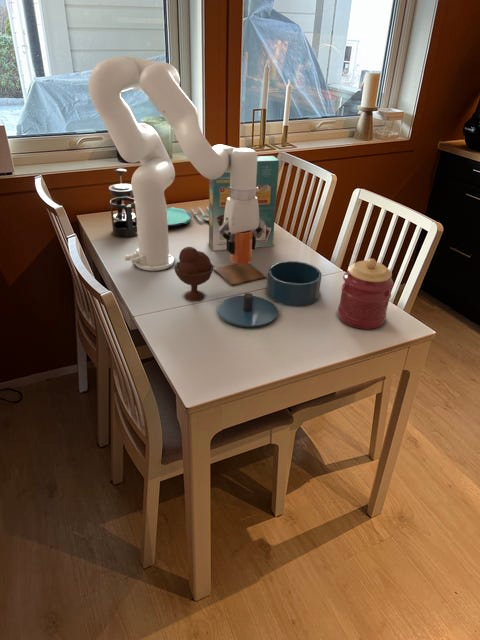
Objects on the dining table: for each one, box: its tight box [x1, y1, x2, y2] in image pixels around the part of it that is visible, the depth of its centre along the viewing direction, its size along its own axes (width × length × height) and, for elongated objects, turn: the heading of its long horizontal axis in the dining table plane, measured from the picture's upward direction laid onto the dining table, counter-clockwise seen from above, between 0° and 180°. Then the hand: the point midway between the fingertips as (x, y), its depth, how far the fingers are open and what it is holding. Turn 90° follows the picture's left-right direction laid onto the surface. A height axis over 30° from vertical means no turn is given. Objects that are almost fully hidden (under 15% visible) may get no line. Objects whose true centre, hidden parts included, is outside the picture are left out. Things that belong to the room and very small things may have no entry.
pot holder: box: [213, 263, 266, 287], centre depth 159 cm, size 12×12×1 cm
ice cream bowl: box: [173, 246, 215, 302], centre depth 142 cm, size 11×11×15 cm
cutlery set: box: [167, 206, 209, 227], centre depth 198 cm, size 20×30×2 cm, turn 110°
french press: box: [108, 168, 138, 239], centre depth 179 cm, size 12×9×23 cm
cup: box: [229, 230, 253, 264], centre depth 154 cm, size 7×7×10 cm
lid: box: [217, 292, 278, 328], centre depth 138 cm, size 16×16×6 cm
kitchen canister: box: [337, 258, 394, 330], centre depth 135 cm, size 13×13×18 cm
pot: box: [266, 260, 322, 307], centre depth 148 cm, size 15×16×7 cm
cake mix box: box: [208, 155, 280, 252], centre depth 171 cm, size 22×6×30 cm, turn 106°
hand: (241, 250), depth 155 cm, fingers closed on cup, 6 cm apart
